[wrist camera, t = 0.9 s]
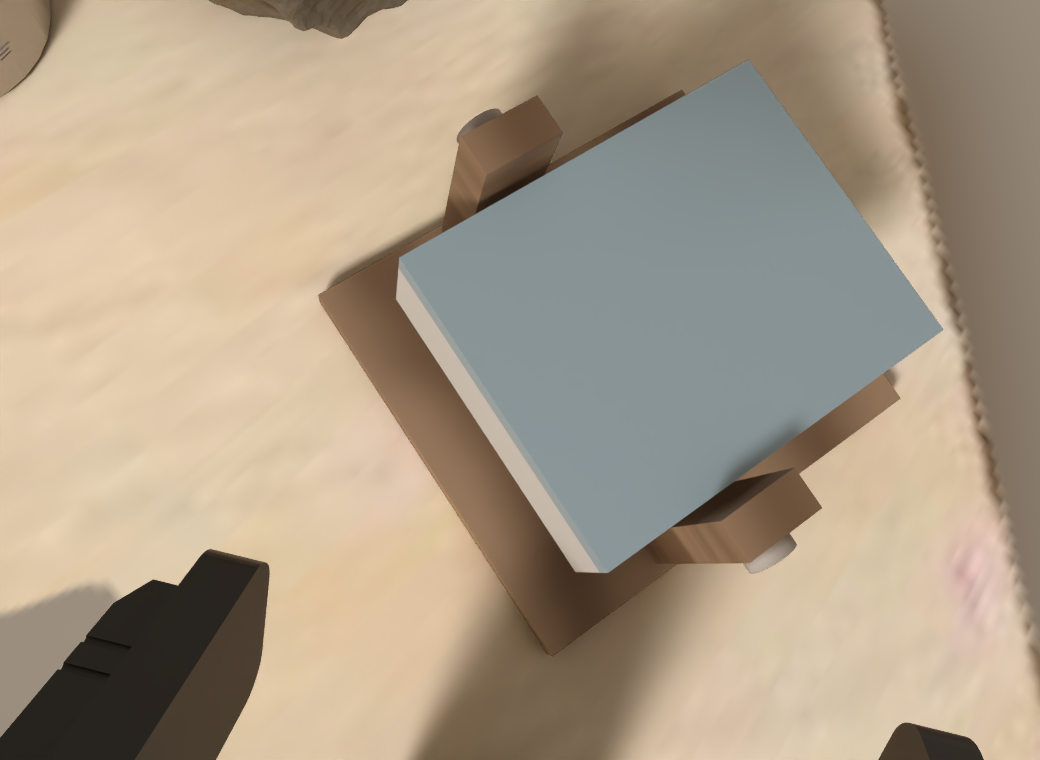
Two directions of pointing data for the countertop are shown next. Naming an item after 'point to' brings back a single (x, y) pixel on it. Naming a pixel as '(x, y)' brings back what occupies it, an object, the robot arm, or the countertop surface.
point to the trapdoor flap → (661, 315)
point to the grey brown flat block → (314, 12)
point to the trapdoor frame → (480, 471)
